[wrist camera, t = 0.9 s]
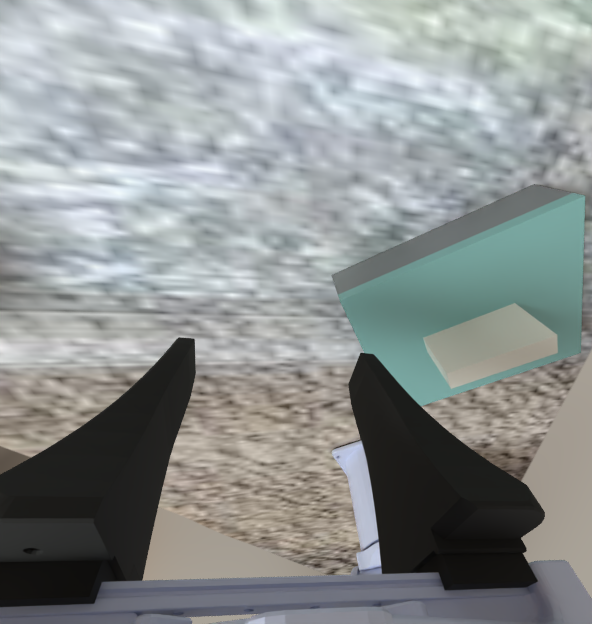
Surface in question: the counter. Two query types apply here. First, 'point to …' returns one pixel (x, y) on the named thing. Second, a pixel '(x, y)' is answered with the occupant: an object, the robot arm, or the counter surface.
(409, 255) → the tray
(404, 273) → the lid
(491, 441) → the counter surface
